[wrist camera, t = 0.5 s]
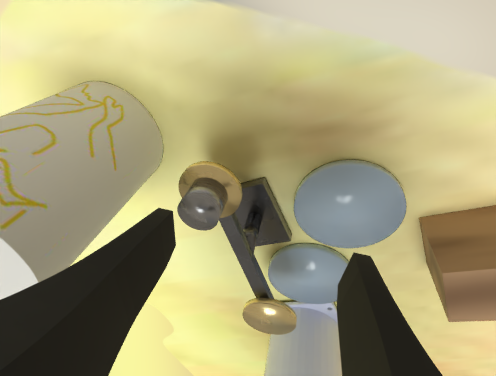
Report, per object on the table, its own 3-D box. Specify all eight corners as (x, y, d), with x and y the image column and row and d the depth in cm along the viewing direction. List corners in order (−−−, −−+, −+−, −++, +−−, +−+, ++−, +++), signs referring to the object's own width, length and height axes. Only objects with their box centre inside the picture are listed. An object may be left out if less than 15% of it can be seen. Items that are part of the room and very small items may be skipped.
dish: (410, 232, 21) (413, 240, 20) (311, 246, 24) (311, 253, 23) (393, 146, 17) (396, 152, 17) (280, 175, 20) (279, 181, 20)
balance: (307, 267, 26) (303, 335, 21) (267, 271, 27) (255, 336, 22) (240, 126, 19) (210, 177, 14) (192, 143, 20) (150, 194, 15)
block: (504, 254, 20) (548, 319, 16) (426, 262, 22) (448, 321, 18) (505, 202, 18) (556, 263, 14) (418, 216, 20) (442, 273, 16)
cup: (165, 101, 19) (9, 216, 10) (161, 190, 24) (56, 324, 14) (54, 66, 19) (-205, 145, 10) (73, 162, 24) (-86, 275, 15)
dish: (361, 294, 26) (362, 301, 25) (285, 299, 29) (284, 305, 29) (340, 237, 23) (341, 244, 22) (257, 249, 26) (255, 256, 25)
